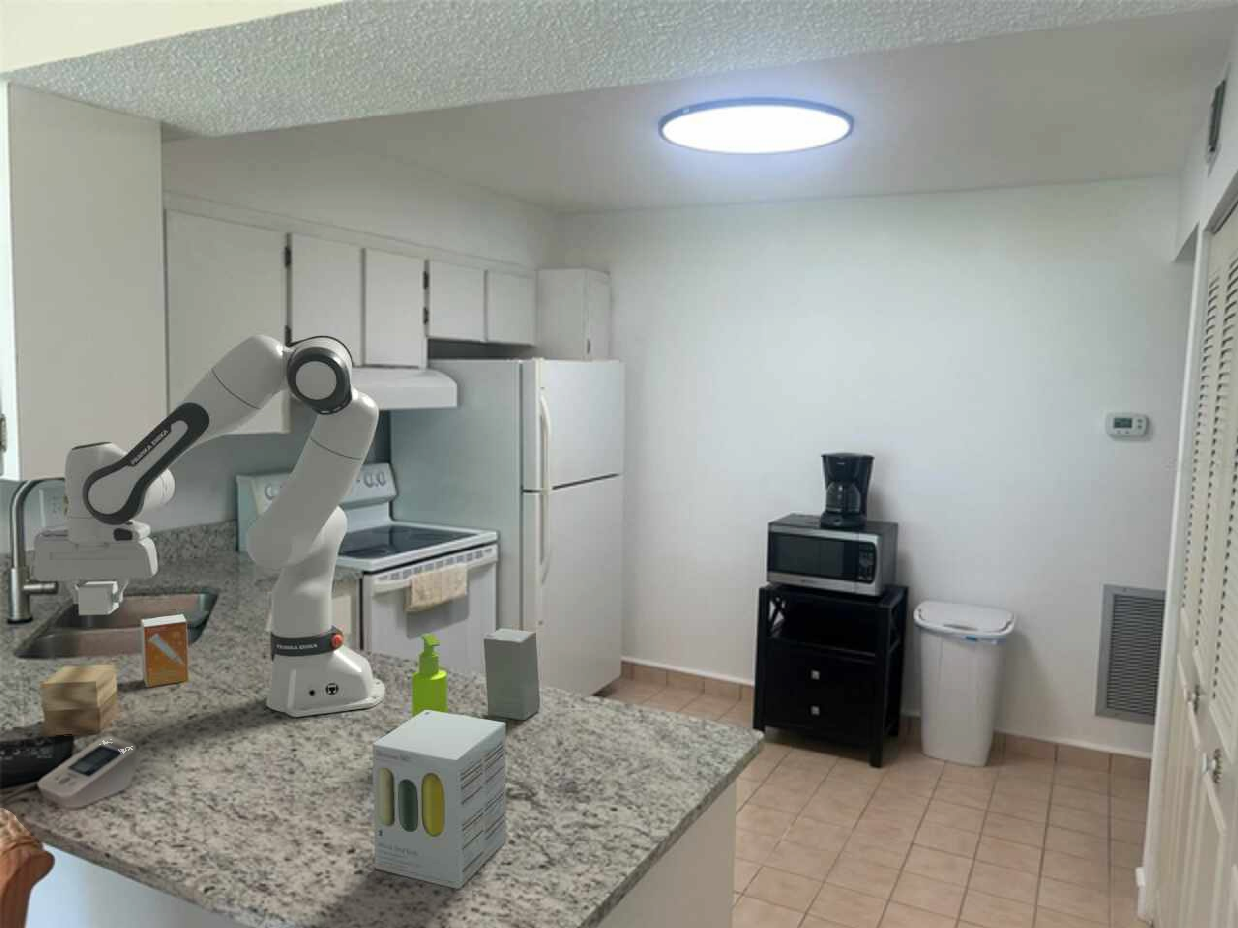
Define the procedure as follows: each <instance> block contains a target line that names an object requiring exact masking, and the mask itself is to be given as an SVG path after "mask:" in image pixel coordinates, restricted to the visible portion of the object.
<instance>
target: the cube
mask: <svg viewBox="0 0 1238 928" xmlns="http://www.w3.org/2000/svg"><path fill="white" fill-rule="evenodd" d="M118 588H119V585H117V580H115V581H114V580H100V581H87V582H85V584H83V585H81V586H79V587H78V604H77V605H78V616H90V615H91V616H95V615H97V616H98V615H110V614H111V613H112V612H114V611H115V610H116V609H118V608H119V607H120V606H119V604H120V603H112V602H111V599H112V598H111V594H112V593H113V592H117V590H118Z"/></svg>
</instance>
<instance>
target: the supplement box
mask: <svg viewBox="0 0 1238 928" xmlns="http://www.w3.org/2000/svg"><path fill="white" fill-rule="evenodd" d="M371 746H372V748H371V749H372V781H373V782H372V783H373V785H372V787H373V818H374V820H373V823H374V824H373V825H374V826H373V827H374V859H375V860H374V864H375V865H374V867H375V869H376V870H379V871H384V872H388V873H391V874H396V875H400V876H403V877H408V878H410V879H416V880H420V881H423V882H427V883H432V884H435V885H439V886H442V887H443V886H444V887H448V888H450V889H451V888H452V889H455V890H460V889H461V888H462V887H463V886H464V885H465V884H466V883H467V882H468V881H469V880H470V879H471V877H473V876H474V874H476V873H477V872H478V871H479V869H481V867H483V866H484V864H486V862H487V861H488V860H489V859H490V858H492V856H493V855H494V854H495V853H497V851H498V850H499V849H500V848H501V847H502V846H503V845H504V844H505V843H506V841H507V829H506V828H507V826H506V825H507V823H506V821H507V820H506V818H507V815H506V811H507V810H506V807H507V806H506V805H507V804H506V803H507V802H506V722H504V721H503V722H502V721H495V720H490V719H484V718H483V719H482V718H477V717H472V716H468V715H462V714H456V713H455V714H453V713H448V712H447V713H443V712H437V711H431V710H424V711H423V712H421V713H420V714H418V715H416V716H415V717H413V716H412V718H410V719H408V720H407V721H406V722H404V723H402V724H401V725H398V727H396V728H395V729H393V730H392V731H390V732H389V733H387V734H386V735H384V736H383V737H381V738H379V739H378V740H376V741H375V742H373V743H372V745H371Z"/></svg>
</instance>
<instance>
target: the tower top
mask: <svg viewBox="0 0 1238 928" xmlns="http://www.w3.org/2000/svg"><path fill="white" fill-rule="evenodd" d="M116 669H117V667H116V664H97V665H96V664H95V665H93V664H92V665H76V666H75V665H74V666H73V665H72V666H62V667H61V668H60V669H58V670H57V671H55V673H53V674H52V675H51V676H49V677H48V678H47V679H45V680H44V681H42V682H41V683H40V687H41V689H40V690H41V691H40V692H41V706H42V707H41V708H42V712H44V711H53V710H72V709H91V708H98V707H99V706H101V705H102V704H103V703H104V702H105V701H106V700H107V699H108V698H109V697H110V696H111V695H112V694H113V693H114V692H115V691H117V692H118V686H117V685H118V684H117V670H116Z"/></svg>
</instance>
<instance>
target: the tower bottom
mask: <svg viewBox="0 0 1238 928" xmlns="http://www.w3.org/2000/svg"><path fill="white" fill-rule="evenodd" d="M118 699H119V697H118V690H117V691H115V692H114V693H113V694H112V695H111V696H110V697H109V698H108V699H107V700H106V701H105V702H104V703H103V704H102V705H101V706H99V707H98V708H91V709H72V710H53V711H43V715H44V719H43V720H44V732H45V733H44V735H45V737H46V736H49V737H56V736H55V735H60V734H72V735H71V736H74V735H75V736H76V735H91V734H92V735H93V734H101V733H103V732H104V730H105V729H107V727H108V726H109V725H110V724H111V723H112V722H113V720H114V719H115V718H116V717H118V715H119V701H118Z"/></svg>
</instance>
